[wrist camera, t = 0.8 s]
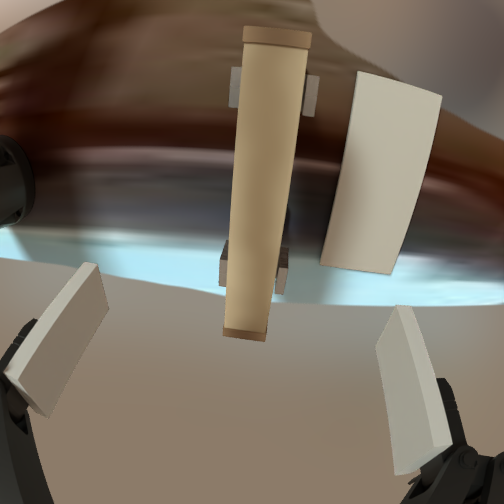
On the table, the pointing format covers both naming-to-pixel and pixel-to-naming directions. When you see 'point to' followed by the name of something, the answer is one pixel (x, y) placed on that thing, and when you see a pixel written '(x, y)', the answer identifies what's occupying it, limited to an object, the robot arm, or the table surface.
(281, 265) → the post far
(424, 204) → the table surface
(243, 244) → the rail
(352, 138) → the mat
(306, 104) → the post near
